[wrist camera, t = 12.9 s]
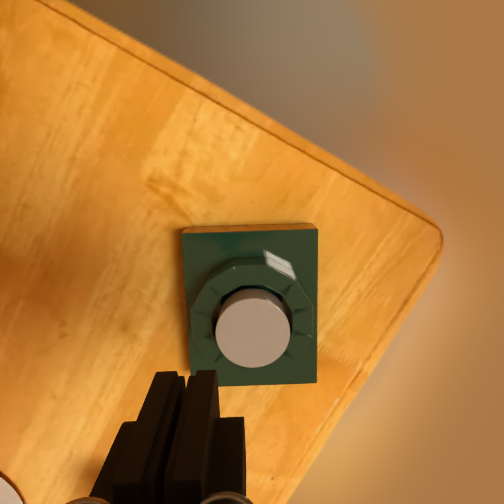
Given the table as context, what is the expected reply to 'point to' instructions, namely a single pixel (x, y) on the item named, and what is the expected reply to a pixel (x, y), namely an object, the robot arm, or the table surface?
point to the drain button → (252, 328)
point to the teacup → (8, 494)
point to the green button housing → (245, 277)
